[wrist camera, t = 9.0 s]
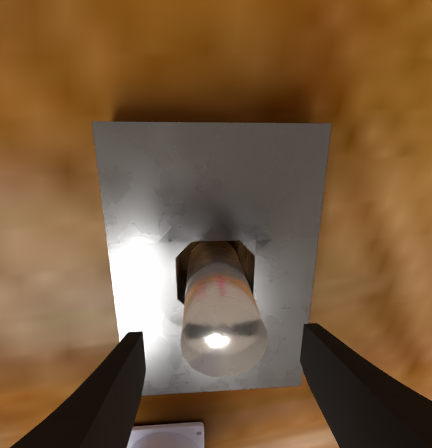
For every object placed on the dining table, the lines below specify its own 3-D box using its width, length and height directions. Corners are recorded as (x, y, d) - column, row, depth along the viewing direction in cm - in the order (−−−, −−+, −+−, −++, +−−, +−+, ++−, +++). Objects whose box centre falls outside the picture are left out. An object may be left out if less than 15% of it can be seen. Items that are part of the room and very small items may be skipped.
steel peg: (239, 280, 20) (269, 371, 12) (192, 286, 20) (186, 383, 12) (235, 235, 19) (265, 298, 11) (185, 241, 19) (174, 311, 11)
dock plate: (288, 356, 23) (301, 385, 20) (136, 365, 22) (126, 396, 19) (309, 128, 18) (331, 123, 15) (110, 127, 17) (91, 121, 14)
